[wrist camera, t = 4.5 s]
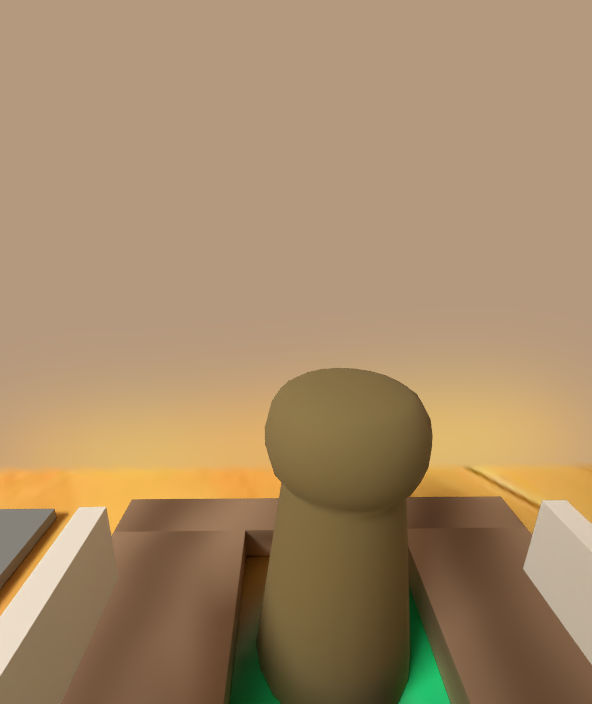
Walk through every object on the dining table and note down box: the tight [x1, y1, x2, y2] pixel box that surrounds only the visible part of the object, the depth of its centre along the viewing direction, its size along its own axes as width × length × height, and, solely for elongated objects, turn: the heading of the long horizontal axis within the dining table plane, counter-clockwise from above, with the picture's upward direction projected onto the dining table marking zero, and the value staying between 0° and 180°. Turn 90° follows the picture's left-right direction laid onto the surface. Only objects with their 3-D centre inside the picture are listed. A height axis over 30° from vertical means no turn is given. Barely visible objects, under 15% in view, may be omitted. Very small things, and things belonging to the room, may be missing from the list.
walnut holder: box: [61, 497, 592, 704], centre depth 15 cm, size 20×13×2 cm, turn 92°
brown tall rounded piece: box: [256, 368, 432, 704], centre depth 13 cm, size 6×6×11 cm
